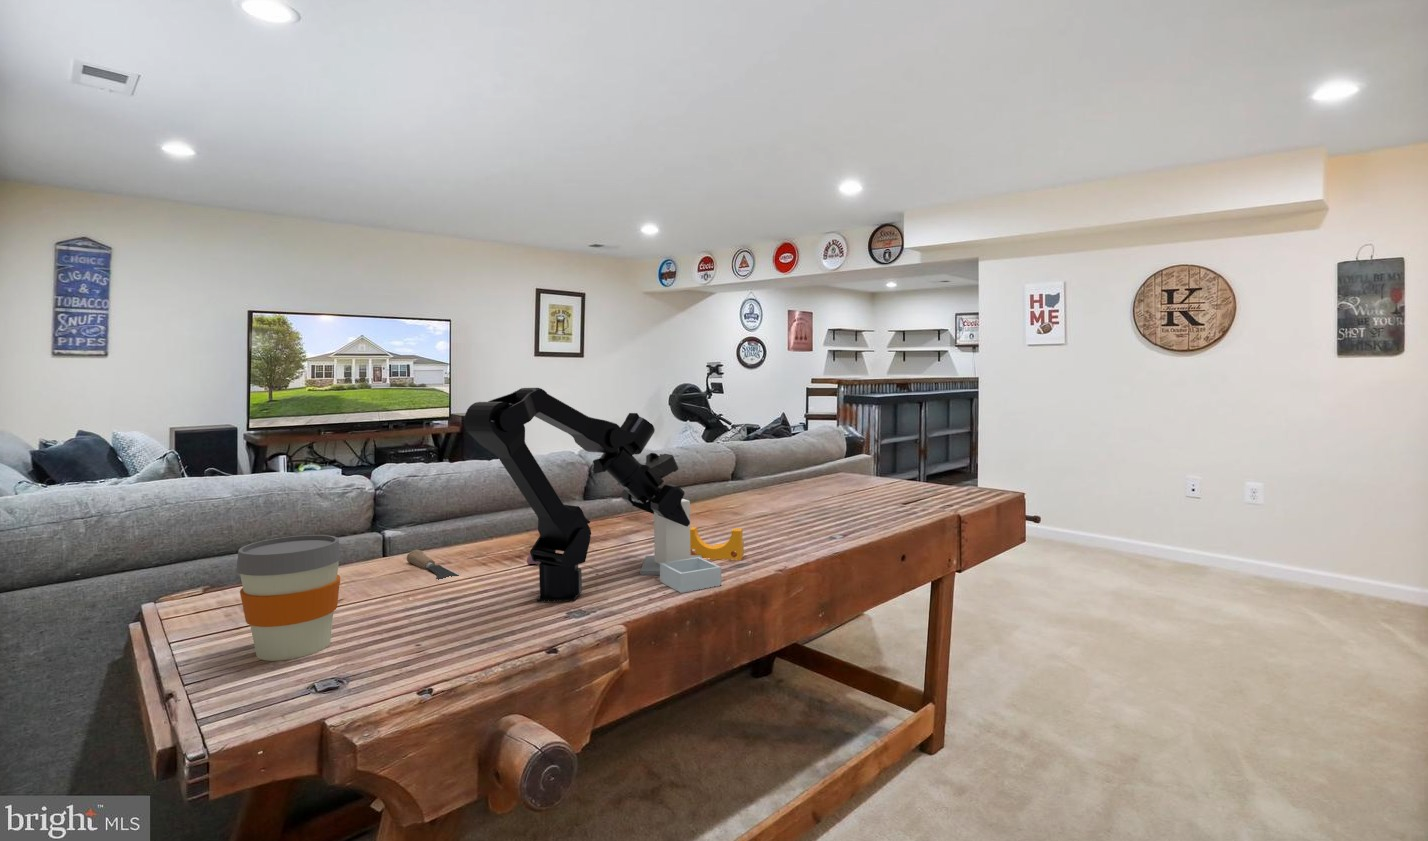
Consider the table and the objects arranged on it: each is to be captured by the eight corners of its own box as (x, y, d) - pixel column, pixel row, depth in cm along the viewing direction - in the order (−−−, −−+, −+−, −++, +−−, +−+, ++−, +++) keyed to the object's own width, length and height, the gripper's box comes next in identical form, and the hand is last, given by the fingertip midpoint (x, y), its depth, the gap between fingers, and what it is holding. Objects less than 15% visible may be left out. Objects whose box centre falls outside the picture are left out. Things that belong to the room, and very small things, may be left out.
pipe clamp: (743, 556, 144) (743, 527, 144) (740, 561, 140) (740, 531, 140) (690, 554, 146) (690, 525, 146) (685, 558, 142) (685, 529, 142)
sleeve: (680, 593, 118) (680, 573, 118) (660, 581, 125) (659, 563, 125) (721, 585, 122) (721, 566, 122) (698, 574, 129) (698, 557, 129)
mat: (640, 575, 129) (640, 571, 129) (646, 559, 141) (646, 555, 141) (701, 574, 130) (701, 570, 130) (701, 558, 142) (701, 555, 141)
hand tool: (452, 583, 121) (396, 553, 138) (453, 599, 122) (397, 567, 138) (480, 575, 125) (422, 547, 142) (481, 591, 126) (423, 561, 143)
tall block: (666, 567, 132) (665, 503, 131) (654, 561, 136) (653, 499, 136) (690, 563, 134) (689, 500, 134) (678, 558, 139) (677, 497, 139)
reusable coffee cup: (358, 646, 94) (354, 542, 94) (254, 674, 85) (249, 560, 84) (327, 625, 103) (323, 530, 102) (229, 649, 94) (225, 545, 93)
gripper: (674, 444, 124) (724, 497, 130) (634, 438, 140) (681, 485, 146) (637, 489, 121) (690, 541, 127) (600, 478, 137) (649, 524, 143)
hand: (677, 520), depth 136 cm, fingers open, 9 cm apart
